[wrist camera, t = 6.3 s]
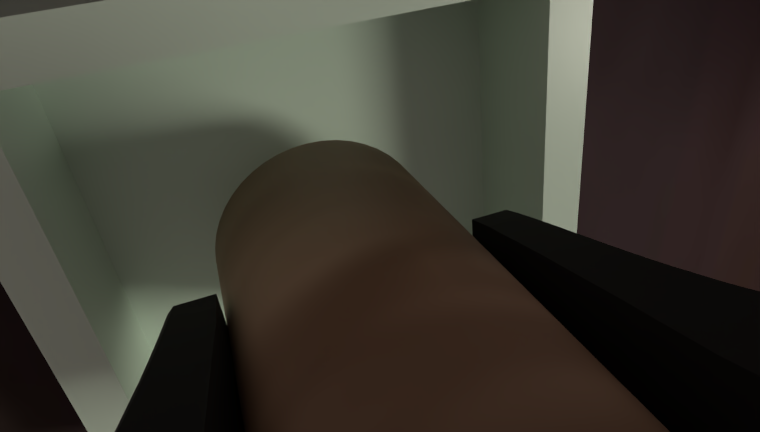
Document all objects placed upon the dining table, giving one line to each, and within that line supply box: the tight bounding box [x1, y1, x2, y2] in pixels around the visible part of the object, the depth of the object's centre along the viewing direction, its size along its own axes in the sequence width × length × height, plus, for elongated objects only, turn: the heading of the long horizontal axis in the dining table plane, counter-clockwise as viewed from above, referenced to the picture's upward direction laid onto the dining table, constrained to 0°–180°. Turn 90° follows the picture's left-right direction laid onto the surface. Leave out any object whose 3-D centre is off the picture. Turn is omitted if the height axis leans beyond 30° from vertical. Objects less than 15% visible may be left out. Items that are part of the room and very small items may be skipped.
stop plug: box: [215, 140, 670, 432], centre depth 7 cm, size 4×4×7 cm
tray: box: [0, 0, 593, 432], centre depth 11 cm, size 10×10×3 cm
